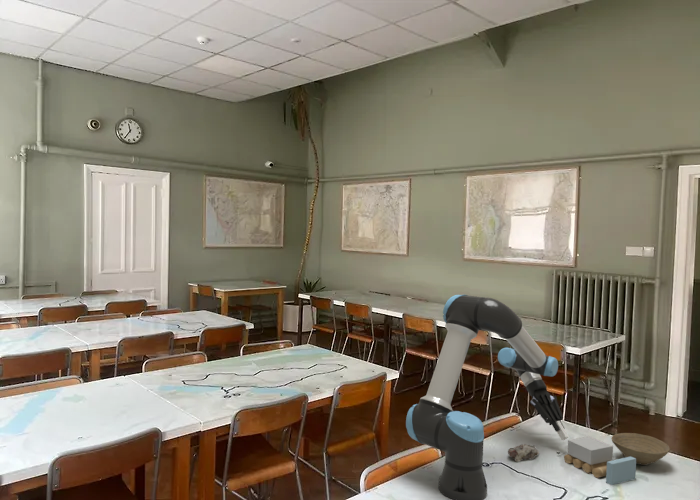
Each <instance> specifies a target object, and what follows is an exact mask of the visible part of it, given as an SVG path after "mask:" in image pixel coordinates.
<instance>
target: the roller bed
mask: <svg viewBox="0 0 700 500" xmlns="http://www.w3.org/2000/svg"><path fill="white" fill-rule="evenodd" d="M563 460H564V462H565V463H566V464H567V465H568V464H572V465H573V466H574V468H576V469H580V468H582V470H583V472H584V473H585V474H586V473H587V474H588V473H591V474H592V475H593V477H594V478H603V477H606V471H607V462H608V461H606V462H602V463H597V464H593V465H590V464H588V463H586V462H584V461H582V460H580V459H578V458H575V457H573V456H571V455H569V454H565V455H564V456H563ZM610 461H613V460H610Z"/></svg>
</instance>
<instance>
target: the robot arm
mask: <svg viewBox="0 0 700 500" xmlns="http://www.w3.org/2000/svg"><path fill="white" fill-rule="evenodd" d="M442 314H443V315H442V317H443V321H444V323H445V329H446V330H447V333H446V335H445V339H444V341H443V344H442V347H441V350H440V353H439V355H438V360H437V362H436V365H435V368H434V371H433V374H432V377H431V380H430V383H429V384H428V385H429V386H428V389H427V392H426V395H424V396H422V397H420V399H419V402H418V403H416V404H413V405H412V406H411V407H410V408H409V409H408V411H407V413H406V414H407V415H406V418H405V419H406V420H405V428H406V431H407V434H408V436H409V437H410V438H411V439H412V440H415V441H416V442H418V443H419V444H421V445H426V446H429V447H431V448H433V449H436V450H439V451H442V452H444V453H445V454H444V465H443V467H442V470H441V474H440V476H439V477H438V490H439V492H440V493H441V494H442V495H444V496H445V497H447V498H449V499H452V500H484V499H485V498H487V496H488V484H487V480H486V477H485V474H484V473H485V472H484V469H483V463H484V462H483V459H484V439H485V433H484V431H485V430H484V424H483V422H482V420H481V419H480V418H479V417H477V416H476V415H474V414H471V413H469V412H466V411H463V412H462V411H459V410H453V408H452V406H451V404H452V400H453V397H454V394H455V391H456V388H457V385H458V381H459V378H460V375H461V372H462V369H463V367H464V363H465V359H466V356H467V354H468V351H469V347H470V344H471V340H473V339H475V338H477V336H478V333H479V331H485V332H490V333H494V334H495V335H498V337H499V338H501V339H503V340H506V341H507V343H508V344H510V347H503V348H501V349H500V350H499V351H498V353H497V360H498V363H499V365H501V366H503V367H505V368H509V369H512V370H515V371H516V373H517V376H518V377H519V378H520V380H521V382H522V383H523V386H524V387H525V389H526V391H527V393H528V395H529V396H530V397H531V398H532V399H531V400H530V401H529V404H530V405H531V406H532V407H533V408H534V409H535V410H536V411H537V413H538V414H539V415H540V417H541V418H542V419H543V420H544V422H545V423H546V424H548V425H549V426H552V428H553V429H554V431H555V432H556V433H557V435H558V437H559V439H560V440H561V441H565V440H568V438H569V437H570V436H569V434H568V433H567V431H566V429H565V426H564V425H563V423H562V420H563V419H564V416H563V414H562V411H561V408H560V405H559V402H558V398H557V396H556V395H554V396H552V395H551V393H550V392H549V391H548V390H547V389H548V386H547V385H546V383H545V381H544V380H543V378H542V376H544V377H554V376H556V375H557V373H558V370H559V362H558V359H557V358H556V357H553V356H552V355H546V353H545V352H544V351H543V350H542V348H541V347H540V346H539V345H538V344H537V342H536V341H535V340H534V339H533V337H532V336H531V335H530V333H528V331H527V330H526V328H525V327H524V326H523V321H522V319H521V318H520V316H519V315H518V314H517V313H516V312H515V311H513V309H512V308H510V307H509V306H508V305H506V304H505V303H503V302H502V301H500V300H498V299H495V298H492V297H485V296H474V295H468V294H455V295H453V296H450V298H448V299H447V301H446V303H445V304H444V306H443V310H442ZM511 347H512V348H511Z"/></svg>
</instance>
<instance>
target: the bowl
mask: <svg viewBox="0 0 700 500" xmlns="http://www.w3.org/2000/svg"><path fill="white" fill-rule="evenodd" d="M611 441H612V443H613V445H614V446H615V447H616V448H617V449H618V451H620V453H622V455H623V457H624V458H626V457H630V456H631V457H633V458H636V465H642V466H643V465H651V464H655V463H656V462H657V461H660V460H661V459H662V458H664V457H665V456H666V455H667V454H668V453H669V452H670V450H671V449H670V446H669V445H668V443H666V442H665V441H663V440H660V439H658V438H656V437H654V436H650V435H648V434H647V435H645V434H642V433H635V432H633V433H632V432H621V433H616V434H614V435H612V436H611Z"/></svg>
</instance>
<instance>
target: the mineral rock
mask: <svg viewBox="0 0 700 500" xmlns="http://www.w3.org/2000/svg"><path fill="white" fill-rule="evenodd" d="M507 453H508V456H509V457H510V458H511V459H513V460H514V461H515V462H516V463H520V461H522V460H523V461H526V460H534V459H535V457H536V456H538V455H539V454H540V451H538V449H537V448H536V446H535V445H530V444H527V443H524V444H519V445H517V446H515V447H511V448H509V449H508V450H507Z"/></svg>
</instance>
